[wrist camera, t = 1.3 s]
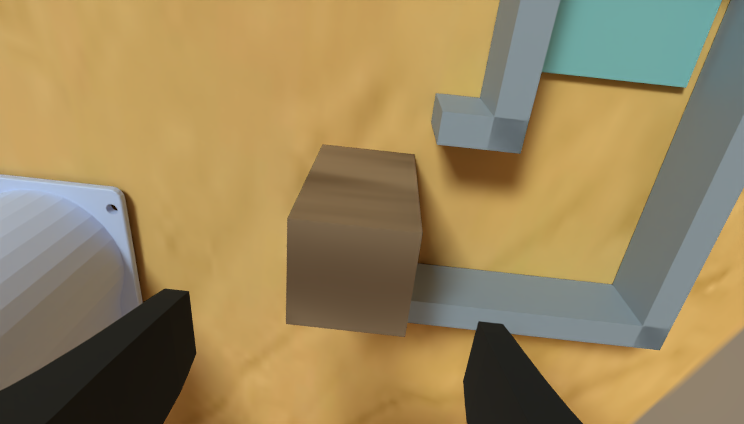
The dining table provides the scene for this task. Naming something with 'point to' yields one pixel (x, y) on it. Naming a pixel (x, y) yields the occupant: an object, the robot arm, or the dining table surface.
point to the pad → (630, 39)
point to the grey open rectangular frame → (656, 225)
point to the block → (354, 242)
